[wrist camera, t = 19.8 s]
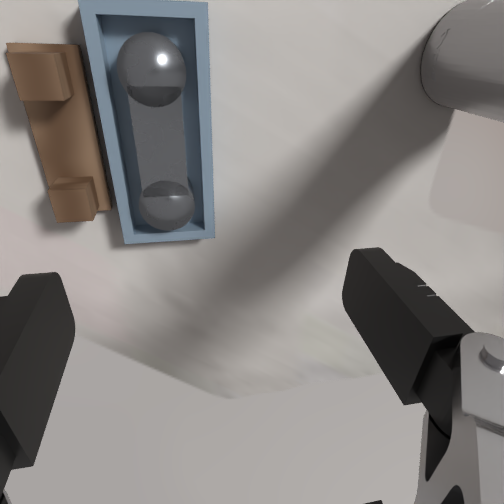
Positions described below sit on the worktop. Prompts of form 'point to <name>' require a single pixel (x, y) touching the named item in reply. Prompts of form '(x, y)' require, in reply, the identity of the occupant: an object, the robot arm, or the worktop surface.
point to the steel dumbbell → (158, 127)
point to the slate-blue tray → (118, 110)
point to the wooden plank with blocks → (62, 126)
